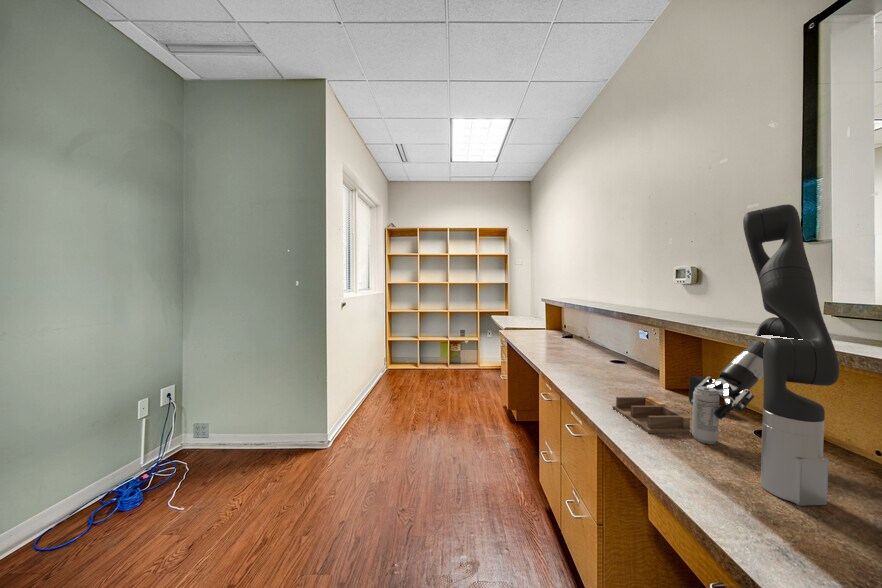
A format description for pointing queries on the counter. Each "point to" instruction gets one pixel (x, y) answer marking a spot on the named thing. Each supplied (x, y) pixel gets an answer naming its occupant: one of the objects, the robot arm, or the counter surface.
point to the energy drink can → (705, 414)
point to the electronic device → (694, 384)
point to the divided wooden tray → (652, 415)
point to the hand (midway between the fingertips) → (704, 410)
